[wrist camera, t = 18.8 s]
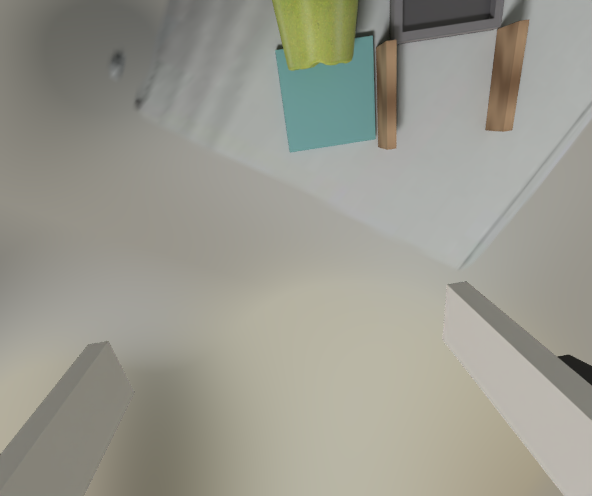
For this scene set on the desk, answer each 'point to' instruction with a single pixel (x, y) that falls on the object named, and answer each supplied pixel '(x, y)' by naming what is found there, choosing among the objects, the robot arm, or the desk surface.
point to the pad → (329, 100)
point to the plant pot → (316, 31)
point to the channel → (501, 89)
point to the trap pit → (442, 18)
